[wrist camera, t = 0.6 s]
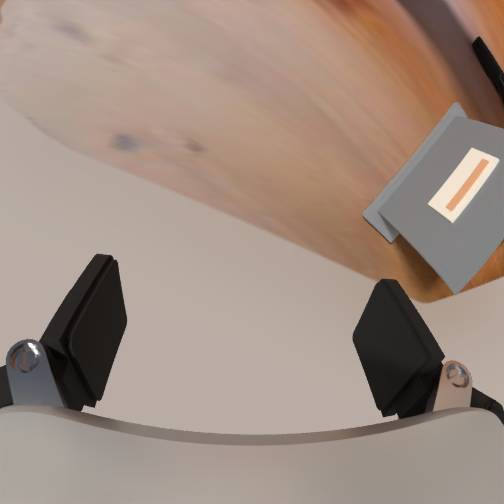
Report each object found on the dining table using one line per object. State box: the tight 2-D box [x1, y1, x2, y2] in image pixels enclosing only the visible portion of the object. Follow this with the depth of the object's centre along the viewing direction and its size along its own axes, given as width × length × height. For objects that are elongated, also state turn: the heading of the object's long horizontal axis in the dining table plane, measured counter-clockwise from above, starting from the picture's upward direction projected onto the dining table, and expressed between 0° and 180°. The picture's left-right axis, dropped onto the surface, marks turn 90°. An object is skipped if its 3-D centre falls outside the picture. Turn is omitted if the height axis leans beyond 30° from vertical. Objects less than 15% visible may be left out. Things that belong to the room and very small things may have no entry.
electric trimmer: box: [472, 37, 504, 99], centre depth 25 cm, size 4×16×3 cm, turn 53°
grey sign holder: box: [361, 102, 504, 295], centre depth 28 cm, size 24×7×17 cm, turn 143°
